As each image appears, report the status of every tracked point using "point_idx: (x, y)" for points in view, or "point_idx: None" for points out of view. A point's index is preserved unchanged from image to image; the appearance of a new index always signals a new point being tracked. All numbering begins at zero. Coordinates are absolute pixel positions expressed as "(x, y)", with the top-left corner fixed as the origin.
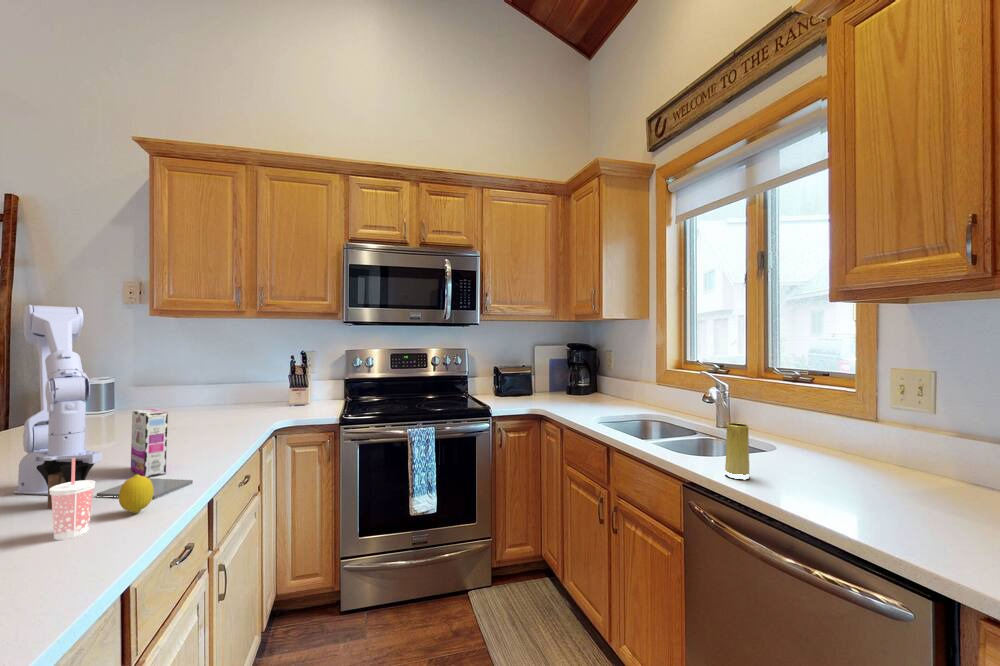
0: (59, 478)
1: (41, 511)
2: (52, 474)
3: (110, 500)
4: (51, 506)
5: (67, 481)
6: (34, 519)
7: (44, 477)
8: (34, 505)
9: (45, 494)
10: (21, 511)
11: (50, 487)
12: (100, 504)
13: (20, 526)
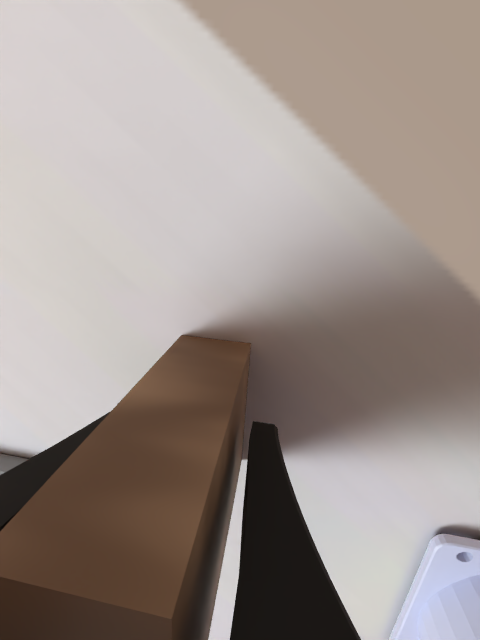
0: (17, 518)
1: (235, 293)
2: (136, 636)
3: (43, 434)
4: (221, 344)
5: (13, 489)
6: (137, 156)
7: (325, 603)
8: (382, 389)
9: (468, 538)
10: (371, 292)
11: (194, 433)
12: (31, 388)
13: (92, 13)
